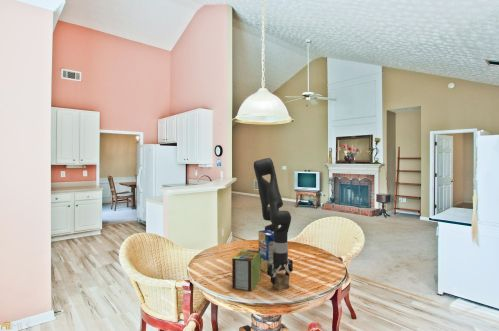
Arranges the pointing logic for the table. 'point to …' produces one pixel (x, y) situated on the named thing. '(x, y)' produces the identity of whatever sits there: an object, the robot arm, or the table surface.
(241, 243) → the table surface
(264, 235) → the beverage box
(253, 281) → the protein box
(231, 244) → the table surface
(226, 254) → the table surface
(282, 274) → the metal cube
